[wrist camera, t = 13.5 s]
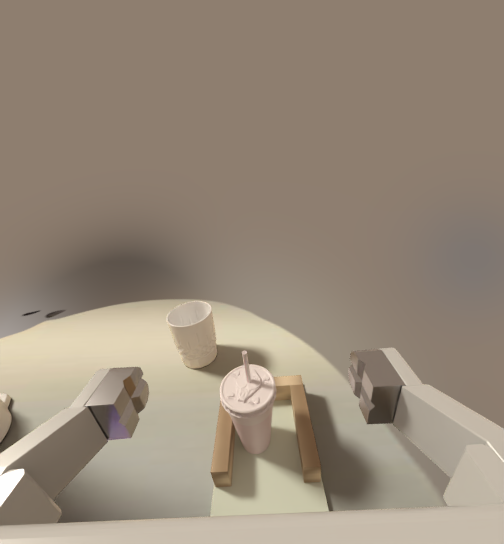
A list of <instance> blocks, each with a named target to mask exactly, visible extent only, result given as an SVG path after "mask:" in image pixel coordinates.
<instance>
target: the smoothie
mask: <svg viewBox="0 0 504 544" xmlns="http://www.w3.org/2000/svg"><path fill="white" fill-rule="evenodd" d="M242 357H243V363H244V365H242V366H239V367H237V368H235V369H233V370H231V371H230V372H229V373H228V374H227V375H226V376H225V377H224V379H223V381H222V383H221V386H220V399H221V403H222V406H223V407H224V409H225V410H226V411H227V412H228V413H229V415H230V417H231V419H232V421H233V424H234V426H235V428H236V430H237V433H238V435H239V437H240V440H241V442H242V444H243V447H244V448H245V450H246V451H248V452H249V453H251V454H260V453H262V452H264V451H265V450H266V449H267V448H268V446H269V444H270V437H271V424H272V410H273V403H274V401H275V398H276V392H277V390H276V385H275V380H274V377H273V375H272V374H271V373H270V372H269V371H268V370H267V369H266V368H264V367H262V366H259V365H253V364H249V362H248V355H247V351H242Z"/></svg>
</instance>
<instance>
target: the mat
mask: <svg viewBox="0 0 504 544" xmlns="http://www.w3.org/2000/svg"><path fill="white" fill-rule="evenodd" d="M326 511H329V510H328V505H327V500H326V496H325V491H324V486H323V482H322V477H321V482H310V483H304V479H303V473H302V467H301V460H300V454H299V448H298V441H297V435H296V429H295V422H294V416H293V410H292V403H291V400H277V401H274V403H273V410H272V424H271V437H270V444H269V446H268V448H267V449H266V450H265V451H264V452H262V453H260V454H251V453H249V452H248V451H246V450H245V448H244V447H243V444H242V442H241V440H240V437H239V435H238V433H237V430H236V428H235V442H234V457H233V472H232V486H229V487H215V484H214V489H213V497H212V505H211V513H210V517H211V516H234V515H257V514H280V513H303V512H326Z"/></svg>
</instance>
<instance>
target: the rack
mask: <svg viewBox="0 0 504 544" xmlns="http://www.w3.org/2000/svg"><path fill="white" fill-rule="evenodd" d="M274 380H275V385H276V390H277V392H276V398H275V401H277V400H291V403H292V410H293V416H294V422H295V429H296V435H297V441H298V448H299V454H300V460H301V467H302V473H303V479H304V483H310V482H321V464H320V459H319V455H318V450H317V446H316V441H315V437H314V432H313V428H312V423H311V419H310V414H309V410H308V405H307V401H306V396H305V392H304V387H303V383H302V378H301V375H296V376H282V377H274ZM234 442H235V426H234V424H233V421H232V419H231V417H230V415H229V413H228V412H227V411H226V410H225V409H224V407H223V406H222V403H221V401H220V409H219V416H218V423H217V430H216V437H215V444H214V452H213V459H212V466H211V475H212V478H213V481H214V484H215V487H229V486H232V472H233V457H234Z"/></svg>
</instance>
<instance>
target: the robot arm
mask: <svg viewBox="0 0 504 544" xmlns="http://www.w3.org/2000/svg"><path fill="white" fill-rule="evenodd" d="M350 360H351V362H352V365H351V366H350V367H349V381H350V385H351V388H352V390H353V393H354V395H356V396H357V397H358V398H359V399H360V402H359V407H360V409H361V411H362V413H363V416H364V418H365V420H366V422H367V424H386V423H393V425H394V426H395V427H396V428H397V429H398V430H399V431H401V433H402V434H404V435H405V436H406V437H407V438H408V439H409V440H410V441H411V442H412V443H413V444H414V445H416V446H417V447H418V448H419V449H420V450H421V451H422V452H423V453H424V454H425V455H426V456H427V457H428V458H430V459H431V460H432V461H433V462H434V463H435V464H436V465H437V466H438V467H439V468H440V469H441V470H443V471H444V472H445V473H446V474H447V475H448V476H449V477H450V478H451V479H450V482H449V484H448V486H447V488H446V491H445V493H444V496H443V498H444V500H445V501H446V503H447V505H448V506H443V507H419V508H396V509H373V510H349V511H326V512H303V513H280V514H257V515H234V516H211V517H188V518H165V519H142V520H119V521H96V522H73V523H57V522H58V520H59V518H60V517H61V515H62V513H61V509H60V508H59V507H58V506H57V504H56V503H55V502H54V501H53V500H54V498H55V497H56V496H57V495H58V494H59V493H60V492H61V491H62V490H63V489H64V488H65V487H66V486H67V485H68V484H69V483H70V481H71V480H72V479H73V478H74V477H75V476H76V475H77V474H78V473H79V472H80V471H81V470H82V469H83V468H84V467H85V466H86V464H87V463H88V462H89V461H90V460H91V459H92V458H93V457H94V456H95V455H96V454H97V453H98V452H99V451H100V450H101V449H102V447H103V446H104V445H105V444H106V443H107V442H108V440H114V439H125V438H131V437H132V435H133V433H134V431H135V428H136V426H137V424H138V422H139V416H138V413H139V412H141V411H142V410H143V409H144V408H145V406H146V403H147V401H148V395H149V388H148V384H147V382H146V381H145V380H143V379H142V378H141V377H142V375H143V372H142V370H141V368H140V367H126V368H110V369H100V370H98V371H97V372H96V373H95V374H94V375H93V377H92V378H91V379H90V381H89V382H88V383H87V385H86V386H85V387H84V389H83V390H82V391H81V393H80V394H79V395H78V397H77V398H76V399H75V401H74V402H73V403H72V404H71V406H70V407H69V408H64V409H63V410H62V411H60V412H59V413H57V414H56V415H54V416H53V417H52V418H50V419H49V420H47V421H46V422H44V423H43V424H42V425H40V426H39V427H37V428H36V429H35V430H33V431H32V432H30V433H29V434H27V435H26V436H25V437H23V438H22V439H20V440H19V441H17V442H16V443H15V444H13V445H12V446H10V447H9V448H7V449H6V450H5V451H3V452H2V453H0V544H504V429H503V428H502V427H500V426H498V425H497V424H495V423H493V422H491V421H490V420H487V419H486V418H485V417H483V416H481V415H479V414H478V413H476V412H474V411H472V410H471V409H469V408H468V407H466V406H464V405H462V404H461V403H459V402H457V401H456V400H454V399H452V398H450V397H449V396H447V395H445V394H444V393H442V392H440V391H438V390H437V389H435V388H433V387H432V386H430V385H428V384H426V385H425V384H424V385H423V383H422V382H421V381H420V379H419V378H418V377H417V376H416V374H415V373H414V372H413V370H412V369H411V368H410V367H409V365H408V364H407V363H406V361H405V360H404V359H403V358H402V356H401V355H400V354H399V353H398V351H397V350H396V349H395V348H385V349H373V350H359V351H352V352H351V354H350ZM10 400H11V397H10V396H9V395H8V394H6V393H4V394H0V443H1V441H2V440H3V438H4V437H5V435H6V434H7V432H8V430H9V427H10V424H11V414H10V412H9V410H8V406H9V403H10Z"/></svg>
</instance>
